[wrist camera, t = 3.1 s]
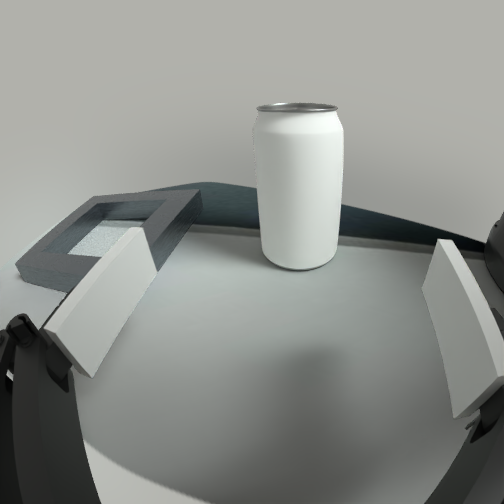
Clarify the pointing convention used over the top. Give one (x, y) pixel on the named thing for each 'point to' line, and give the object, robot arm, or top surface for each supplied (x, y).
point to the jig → (109, 208)
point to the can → (298, 182)
